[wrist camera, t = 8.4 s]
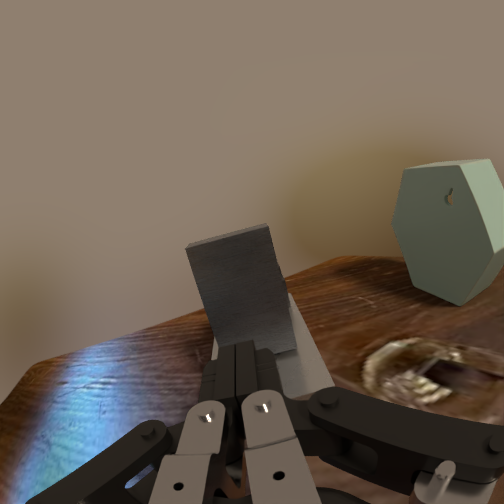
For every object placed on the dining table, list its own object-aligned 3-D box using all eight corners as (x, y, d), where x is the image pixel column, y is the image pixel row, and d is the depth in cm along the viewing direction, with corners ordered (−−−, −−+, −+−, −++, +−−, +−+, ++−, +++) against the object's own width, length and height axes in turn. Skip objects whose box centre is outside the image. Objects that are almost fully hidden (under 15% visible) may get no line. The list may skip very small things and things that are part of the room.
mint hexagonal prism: (474, 307, 34) (538, 199, 19) (443, 329, 33) (515, 212, 18) (415, 236, 45) (445, 129, 31) (383, 249, 44) (409, 131, 30)
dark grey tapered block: (297, 347, 22) (268, 226, 20) (225, 365, 22) (185, 248, 20) (279, 298, 33) (257, 213, 31) (228, 311, 33) (203, 227, 31)
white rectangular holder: (341, 437, 18) (327, 337, 16) (230, 462, 18) (182, 372, 16) (299, 334, 36) (283, 262, 34) (232, 352, 36) (208, 281, 34)
